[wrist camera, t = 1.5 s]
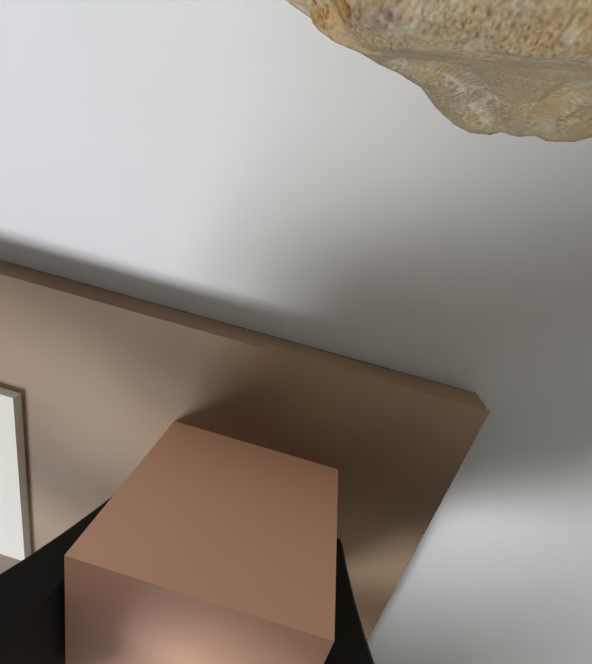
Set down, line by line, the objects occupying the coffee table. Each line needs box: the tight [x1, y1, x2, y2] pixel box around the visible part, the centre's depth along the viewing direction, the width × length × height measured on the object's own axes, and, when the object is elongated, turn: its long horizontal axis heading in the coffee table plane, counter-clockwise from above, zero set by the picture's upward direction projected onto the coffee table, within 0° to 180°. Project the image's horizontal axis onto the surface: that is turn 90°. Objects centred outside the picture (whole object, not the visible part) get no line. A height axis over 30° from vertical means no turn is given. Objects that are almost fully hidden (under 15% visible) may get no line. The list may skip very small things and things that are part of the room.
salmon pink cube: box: [64, 421, 338, 664], centre depth 9 cm, size 5×5×4 cm
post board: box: [0, 260, 489, 640], centre depth 11 cm, size 16×24×4 cm, turn 76°
